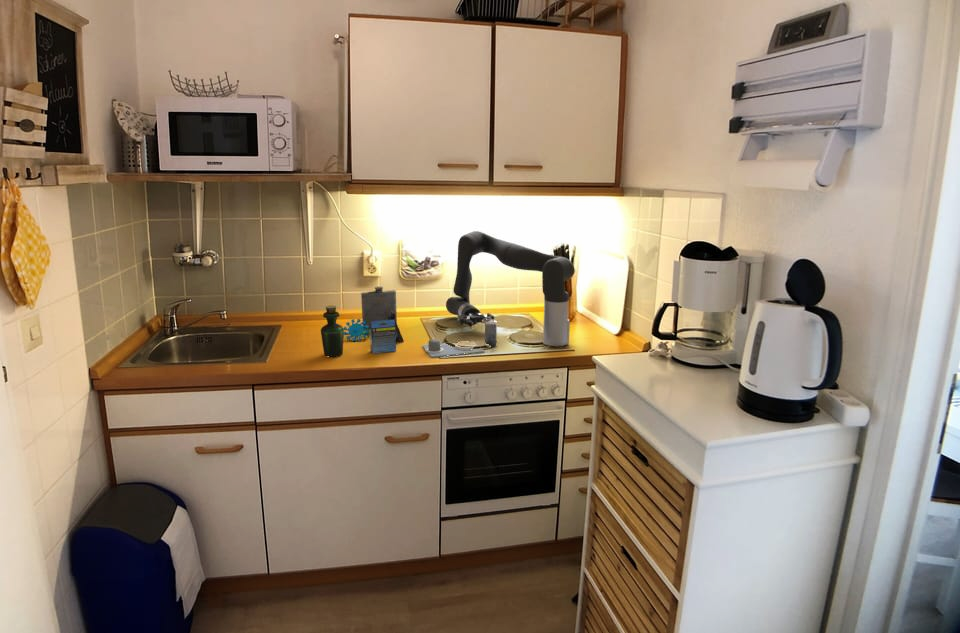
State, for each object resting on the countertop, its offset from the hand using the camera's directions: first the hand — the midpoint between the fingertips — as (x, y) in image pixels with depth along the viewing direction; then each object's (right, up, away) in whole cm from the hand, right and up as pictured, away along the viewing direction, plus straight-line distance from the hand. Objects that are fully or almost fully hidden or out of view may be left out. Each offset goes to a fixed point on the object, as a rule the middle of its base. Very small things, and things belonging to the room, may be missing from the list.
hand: (481, 323), depth 249 cm
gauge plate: (-11, -10, -13) cm, 19 cm away
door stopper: (-36, -7, -3) cm, 36 cm away
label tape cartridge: (-36, -10, -15) cm, 41 cm away
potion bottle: (-54, -11, -20) cm, 58 cm away
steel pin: (+3, -8, -8) cm, 12 cm away
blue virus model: (-49, -6, 0) cm, 49 cm away
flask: (-42, -3, +14) cm, 44 cm away
